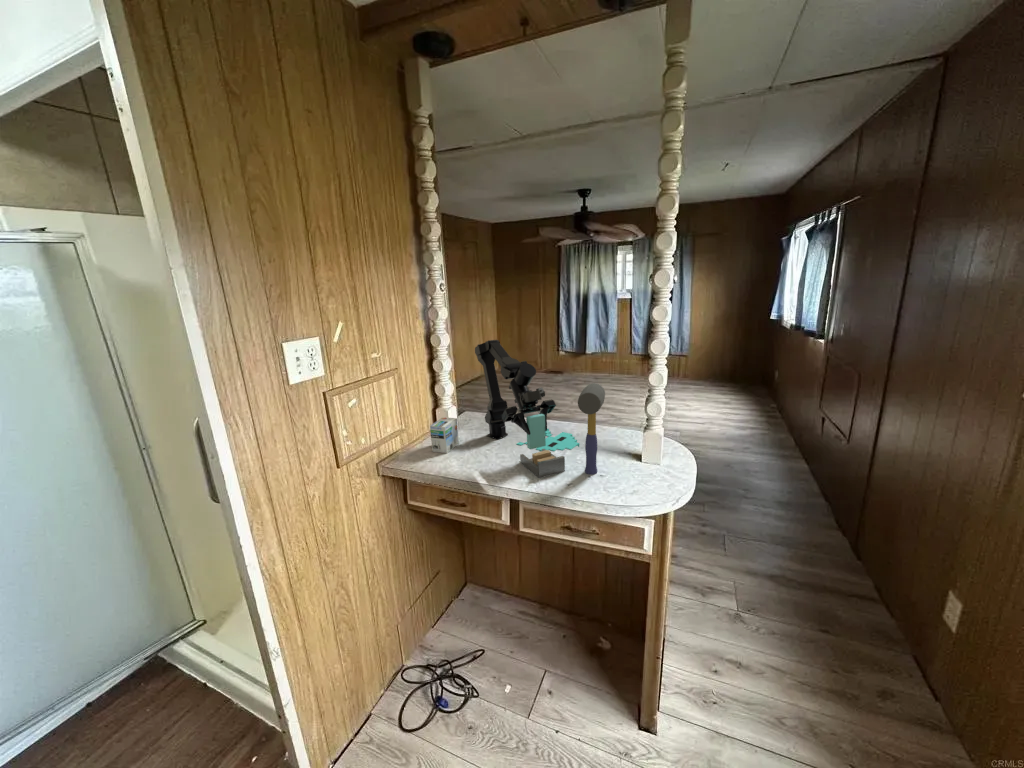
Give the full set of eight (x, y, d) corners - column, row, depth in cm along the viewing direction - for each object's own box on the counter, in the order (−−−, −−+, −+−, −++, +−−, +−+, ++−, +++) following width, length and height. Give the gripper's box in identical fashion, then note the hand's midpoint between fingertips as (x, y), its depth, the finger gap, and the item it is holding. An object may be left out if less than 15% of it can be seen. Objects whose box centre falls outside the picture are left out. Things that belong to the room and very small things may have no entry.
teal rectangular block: (527, 447, 133) (526, 416, 130) (542, 443, 135) (542, 413, 133) (530, 449, 131) (529, 418, 128) (545, 445, 134) (545, 415, 131)
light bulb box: (447, 453, 149) (444, 427, 146) (431, 452, 151) (428, 425, 148) (459, 442, 159) (457, 417, 156) (444, 441, 161) (442, 416, 158)
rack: (518, 465, 137) (518, 448, 135) (543, 459, 141) (543, 442, 139) (538, 482, 124) (538, 463, 123) (565, 475, 129) (565, 456, 127)
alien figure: (516, 449, 151) (561, 461, 140) (516, 443, 151) (561, 455, 139) (544, 432, 167) (587, 442, 155) (544, 427, 166) (587, 437, 154)
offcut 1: (532, 467, 131) (532, 453, 130) (548, 463, 134) (547, 449, 133) (535, 469, 130) (535, 455, 128) (551, 465, 132) (550, 452, 131)
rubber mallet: (600, 486, 120) (601, 392, 113) (575, 483, 123) (576, 391, 115) (605, 468, 132) (606, 382, 124) (582, 466, 134) (583, 381, 127)
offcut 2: (537, 471, 129) (536, 459, 128) (552, 466, 131) (552, 455, 130) (540, 473, 127) (539, 462, 126) (555, 469, 130) (555, 458, 129)
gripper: (503, 384, 127) (520, 426, 120) (552, 376, 135) (571, 416, 128) (495, 401, 136) (510, 442, 129) (541, 393, 144) (558, 431, 137)
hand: (538, 432), depth 131 cm, fingers closed on teal rectangular block, 6 cm apart
